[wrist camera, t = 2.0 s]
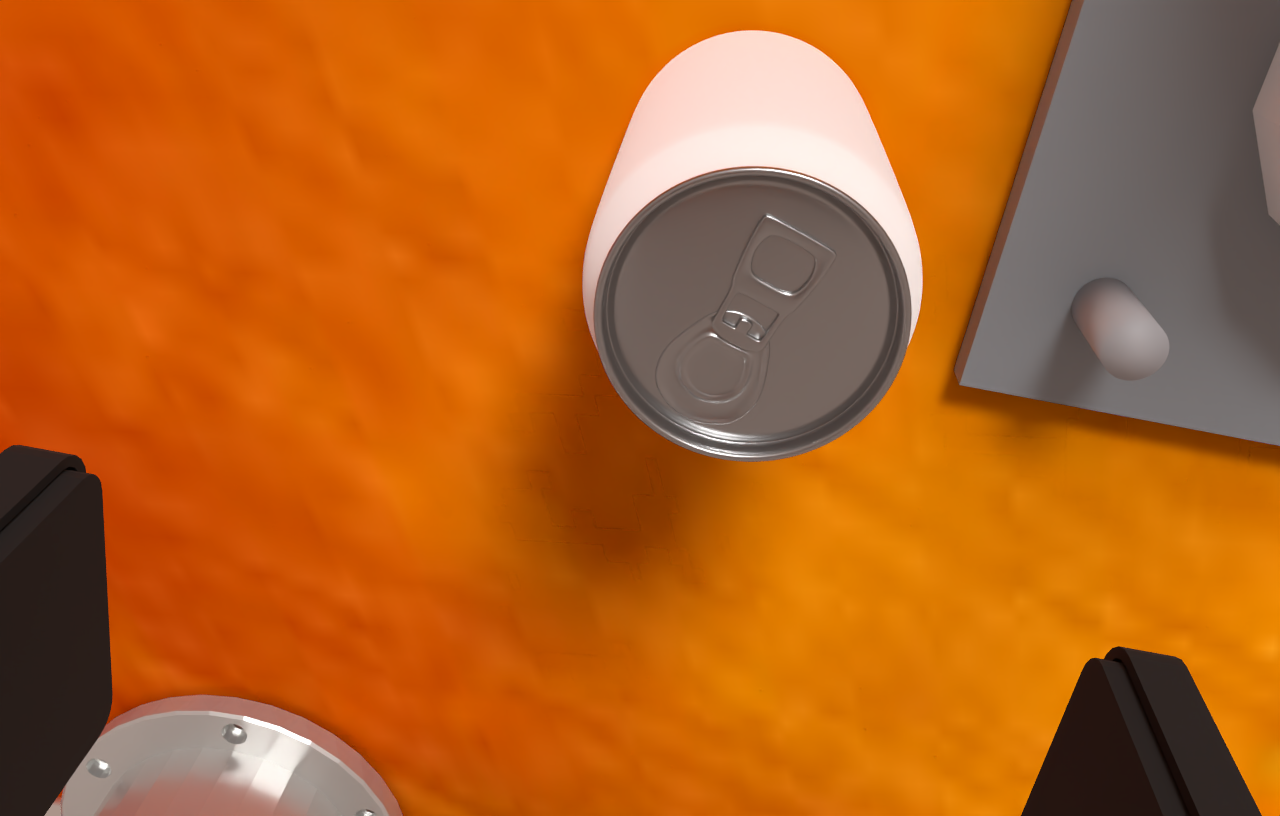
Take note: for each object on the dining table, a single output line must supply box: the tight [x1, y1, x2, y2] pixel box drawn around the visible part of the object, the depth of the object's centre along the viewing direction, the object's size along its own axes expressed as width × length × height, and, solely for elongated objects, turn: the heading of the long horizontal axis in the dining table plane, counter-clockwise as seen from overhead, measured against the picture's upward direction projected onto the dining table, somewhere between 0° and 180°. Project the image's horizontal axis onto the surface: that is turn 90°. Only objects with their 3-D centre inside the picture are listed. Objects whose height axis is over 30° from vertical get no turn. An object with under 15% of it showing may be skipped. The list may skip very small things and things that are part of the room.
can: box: [583, 31, 922, 462], centre depth 27 cm, size 6×6×12 cm
